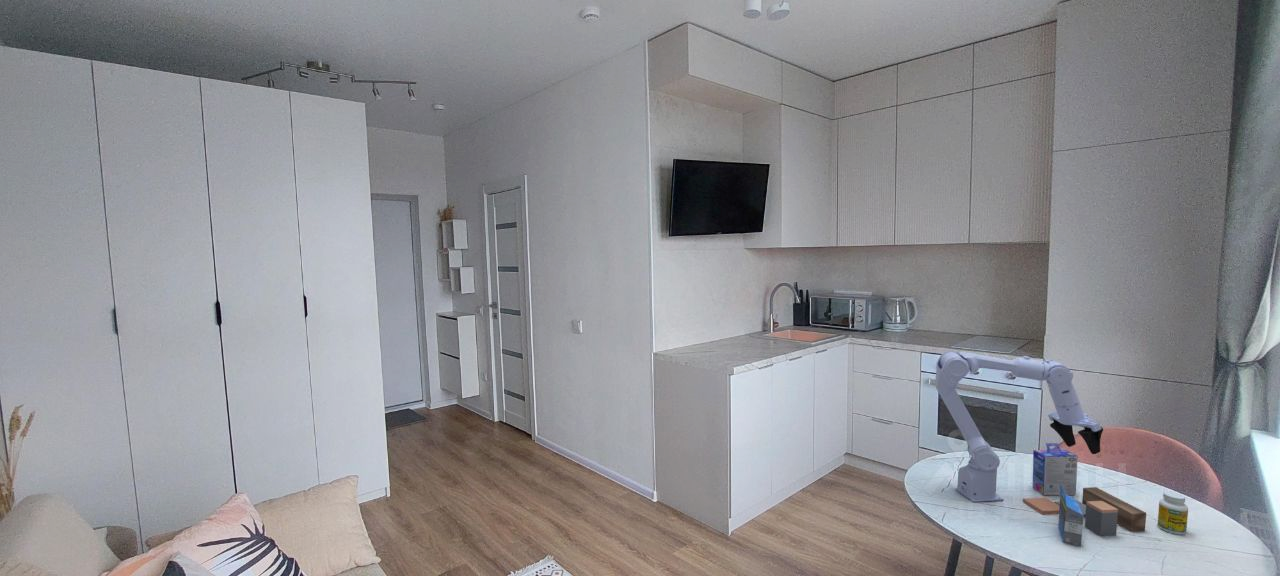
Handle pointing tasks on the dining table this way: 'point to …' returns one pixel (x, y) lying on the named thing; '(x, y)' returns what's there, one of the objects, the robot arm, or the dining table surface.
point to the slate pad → (1082, 506)
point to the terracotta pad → (1042, 505)
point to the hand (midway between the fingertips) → (1083, 449)
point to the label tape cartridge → (1070, 519)
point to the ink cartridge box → (1054, 471)
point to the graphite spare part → (1101, 518)
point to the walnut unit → (1127, 513)
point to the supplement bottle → (1173, 513)
